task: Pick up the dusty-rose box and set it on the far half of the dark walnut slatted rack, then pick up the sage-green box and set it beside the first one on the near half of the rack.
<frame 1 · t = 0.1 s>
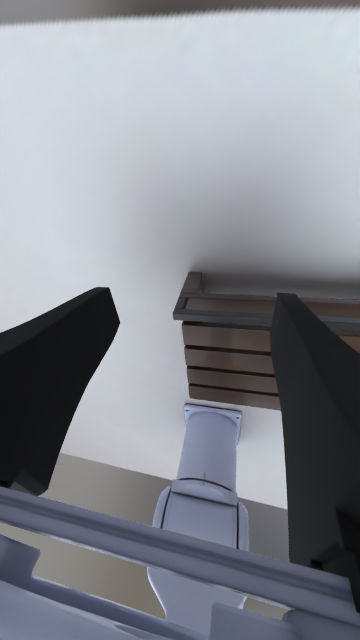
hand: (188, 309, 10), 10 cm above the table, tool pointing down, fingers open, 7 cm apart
rack: (274, 334, 23), on the table
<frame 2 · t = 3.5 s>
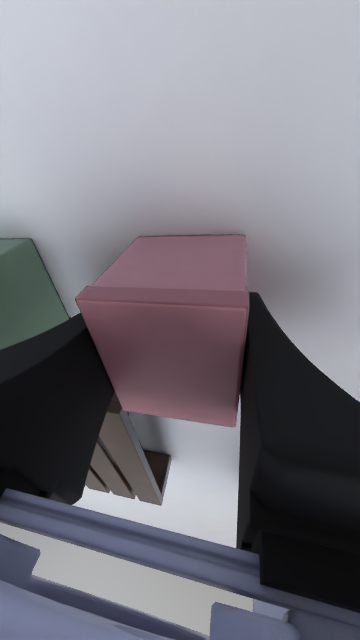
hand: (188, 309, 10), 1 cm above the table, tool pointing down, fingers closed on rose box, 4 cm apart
rack: (93, 410, 22), on the table
sage box: (21, 286, 14), on the table
rose box: (192, 292, 11), on the table, touching gripper
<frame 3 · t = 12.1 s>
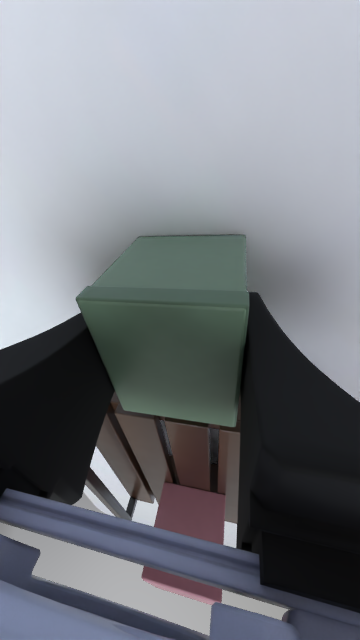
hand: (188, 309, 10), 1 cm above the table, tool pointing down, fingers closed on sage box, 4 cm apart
rack: (201, 427, 19), on the table
sage box: (192, 292, 11), on the table, touching gripper
rose box: (195, 499, 19), point 4 cm above the table, touching rack
when the fingers open (5 cm above the table, at t = 16.2 s): sage box stays where it is, resting on rack.
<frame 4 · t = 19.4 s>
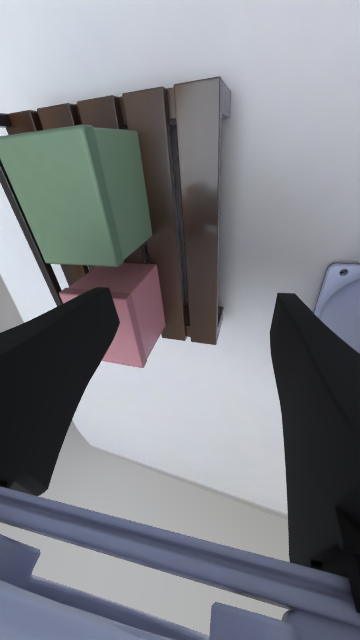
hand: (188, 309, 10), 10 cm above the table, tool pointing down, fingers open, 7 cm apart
rack: (148, 233, 20), on the table
sage box: (113, 190, 15), point 4 cm above the table, touching rack
rose box: (135, 294, 19), point 4 cm above the table, touching rack
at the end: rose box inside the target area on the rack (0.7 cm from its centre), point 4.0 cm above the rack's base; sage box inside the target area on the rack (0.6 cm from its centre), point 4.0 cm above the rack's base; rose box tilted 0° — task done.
